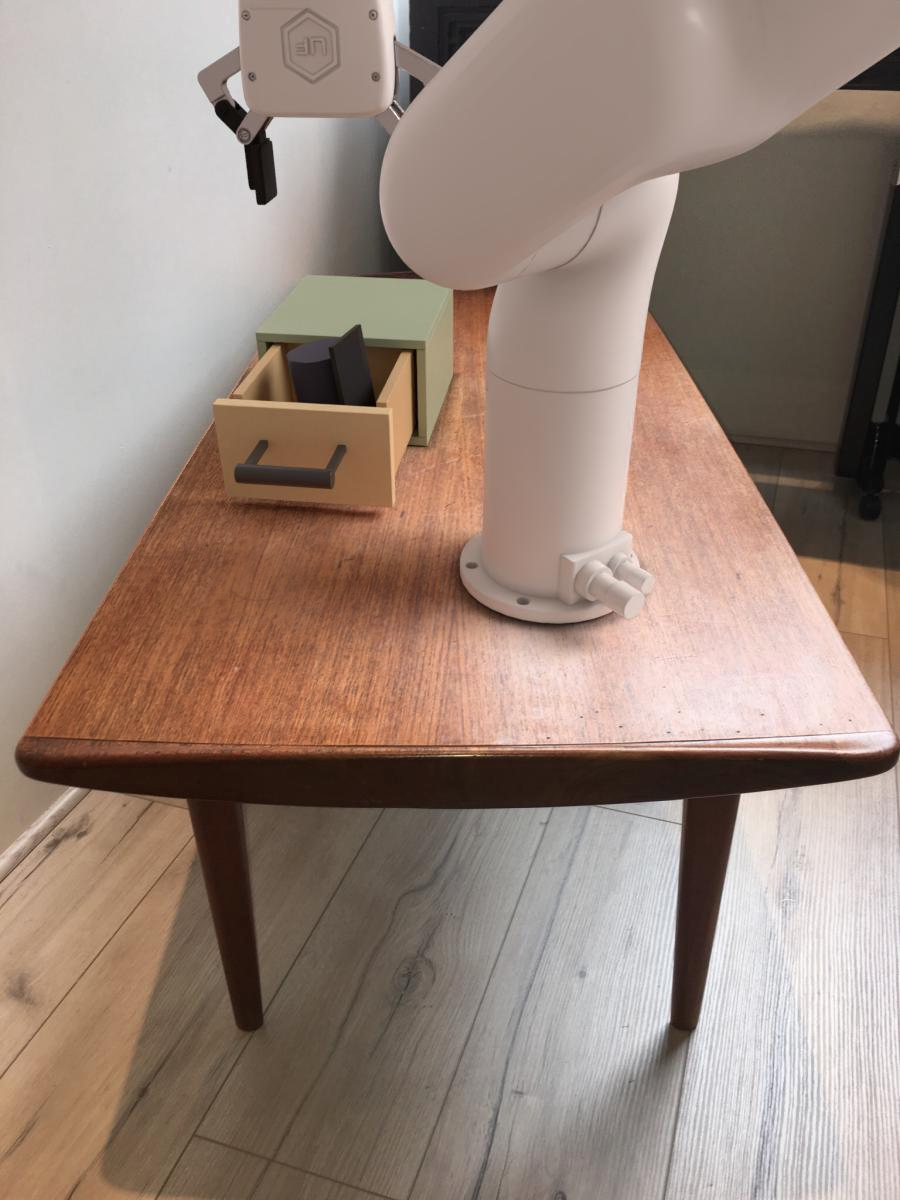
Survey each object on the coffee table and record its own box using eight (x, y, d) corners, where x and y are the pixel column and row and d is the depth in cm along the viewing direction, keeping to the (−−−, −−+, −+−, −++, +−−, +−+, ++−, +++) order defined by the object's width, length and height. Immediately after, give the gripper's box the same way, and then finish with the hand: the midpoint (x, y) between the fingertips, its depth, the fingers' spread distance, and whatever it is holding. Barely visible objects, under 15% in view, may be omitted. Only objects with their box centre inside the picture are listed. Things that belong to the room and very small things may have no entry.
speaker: (405, 447, 82) (387, 323, 77) (358, 475, 79) (335, 348, 73) (341, 431, 87) (319, 313, 81) (293, 457, 83) (267, 336, 77)
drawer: (378, 546, 72) (373, 448, 67) (200, 533, 73) (184, 437, 69) (425, 424, 89) (423, 340, 85) (280, 416, 91) (271, 332, 86)
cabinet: (427, 446, 87) (425, 340, 82) (267, 436, 89) (255, 332, 84) (453, 375, 101) (453, 280, 96) (313, 368, 103) (305, 274, 97)
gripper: (156, -84, 60) (199, 212, 70) (440, -89, 58) (444, 216, 68) (198, -83, 66) (232, 189, 76) (455, -87, 64) (457, 192, 74)
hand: (332, 202), depth 72 cm, fingers open, 9 cm apart
